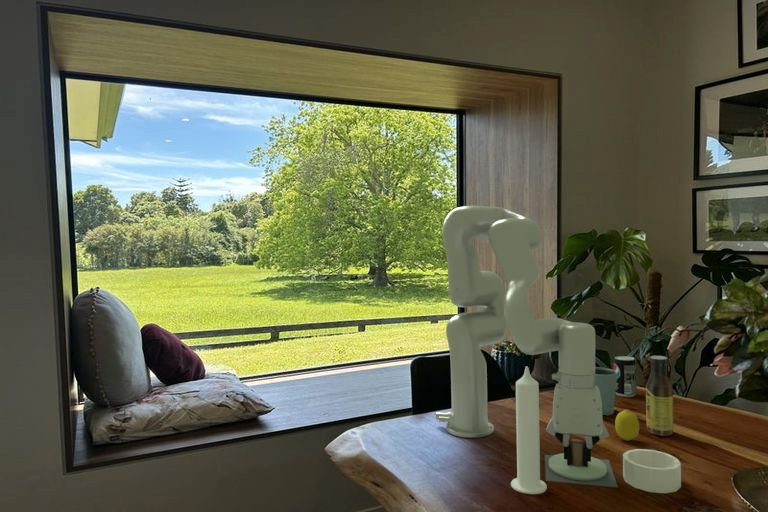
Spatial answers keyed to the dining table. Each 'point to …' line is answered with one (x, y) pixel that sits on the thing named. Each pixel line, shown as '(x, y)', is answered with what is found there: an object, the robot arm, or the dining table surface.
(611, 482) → the mat
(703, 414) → the dining table surface
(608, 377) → the blue-green cup
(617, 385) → the beverage can
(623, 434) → the lemon
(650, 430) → the sauce bottle
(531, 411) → the candle
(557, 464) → the lid
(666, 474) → the bowl
